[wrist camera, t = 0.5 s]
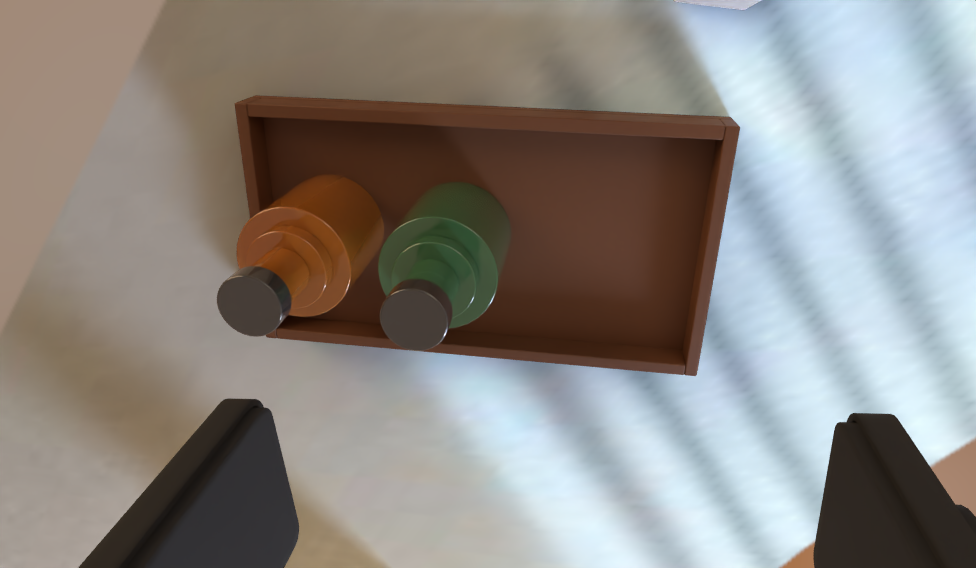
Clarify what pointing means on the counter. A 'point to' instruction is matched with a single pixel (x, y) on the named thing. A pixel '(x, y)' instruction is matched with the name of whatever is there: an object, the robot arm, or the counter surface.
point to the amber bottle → (301, 254)
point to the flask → (723, 3)
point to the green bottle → (442, 264)
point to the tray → (525, 218)
